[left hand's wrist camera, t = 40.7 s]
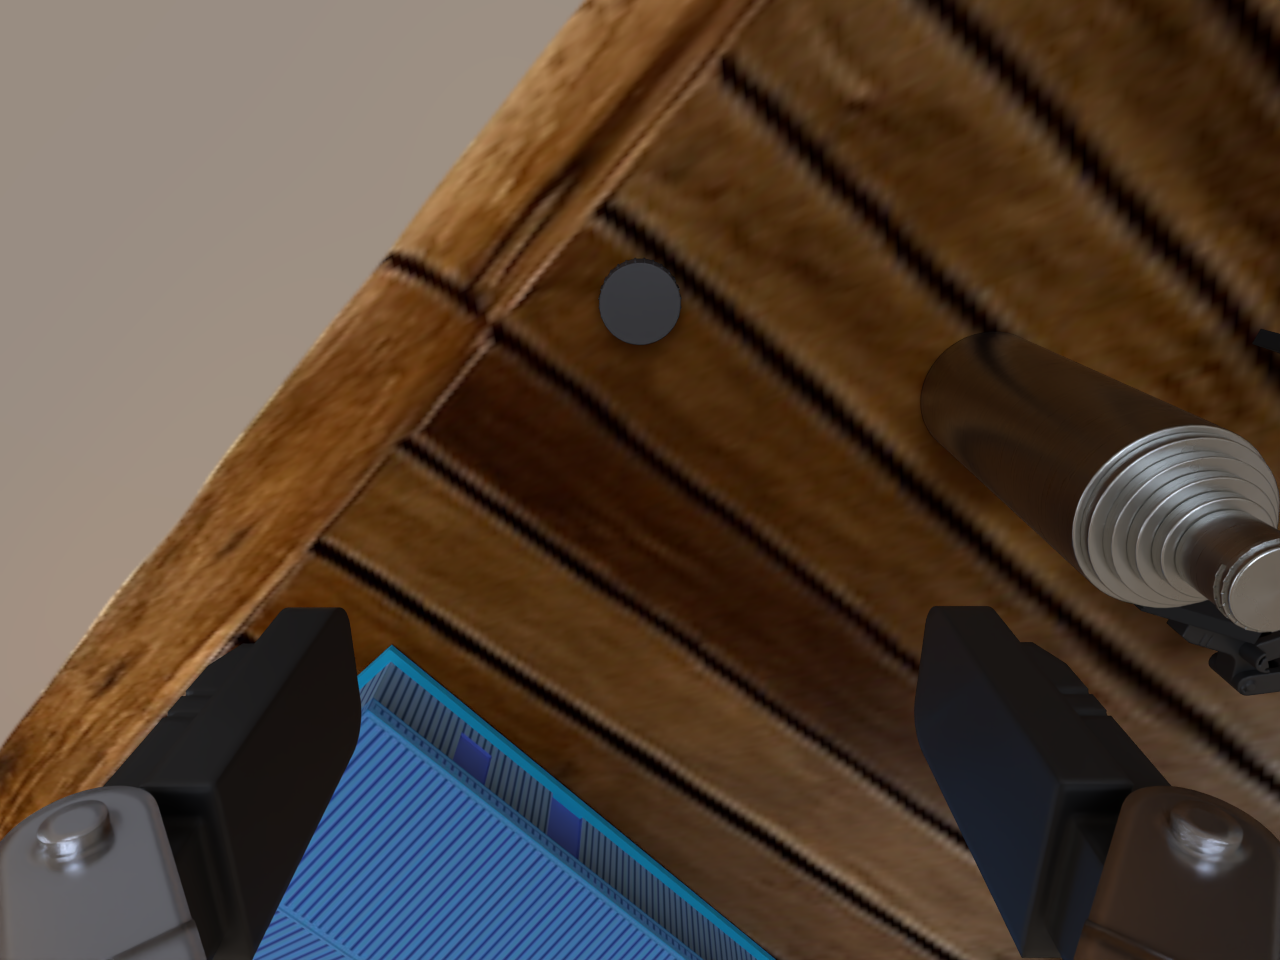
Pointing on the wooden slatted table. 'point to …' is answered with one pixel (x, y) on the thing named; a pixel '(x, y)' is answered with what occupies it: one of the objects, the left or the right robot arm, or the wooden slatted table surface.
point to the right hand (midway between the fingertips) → (1198, 473)
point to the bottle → (1113, 477)
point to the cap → (639, 301)
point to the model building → (474, 854)
